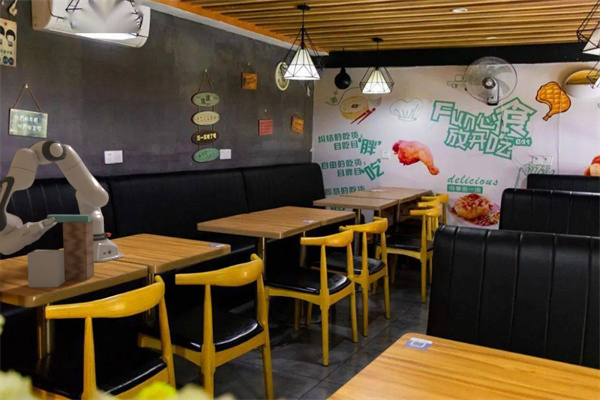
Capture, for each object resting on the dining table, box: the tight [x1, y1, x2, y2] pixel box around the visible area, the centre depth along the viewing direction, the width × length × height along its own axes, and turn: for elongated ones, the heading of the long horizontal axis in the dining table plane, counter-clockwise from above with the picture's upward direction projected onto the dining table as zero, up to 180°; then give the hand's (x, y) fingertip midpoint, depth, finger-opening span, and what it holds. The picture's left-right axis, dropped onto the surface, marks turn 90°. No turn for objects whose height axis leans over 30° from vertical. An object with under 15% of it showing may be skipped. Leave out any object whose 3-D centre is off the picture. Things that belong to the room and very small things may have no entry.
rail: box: [46, 214, 91, 223], centre depth 254 cm, size 18×4×3 cm, turn 93°
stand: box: [62, 220, 95, 282], centre depth 255 cm, size 10×10×26 cm
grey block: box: [26, 249, 66, 288], centre depth 243 cm, size 12×9×14 cm
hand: (57, 217), depth 253 cm, fingers closed on rail, 3 cm apart
